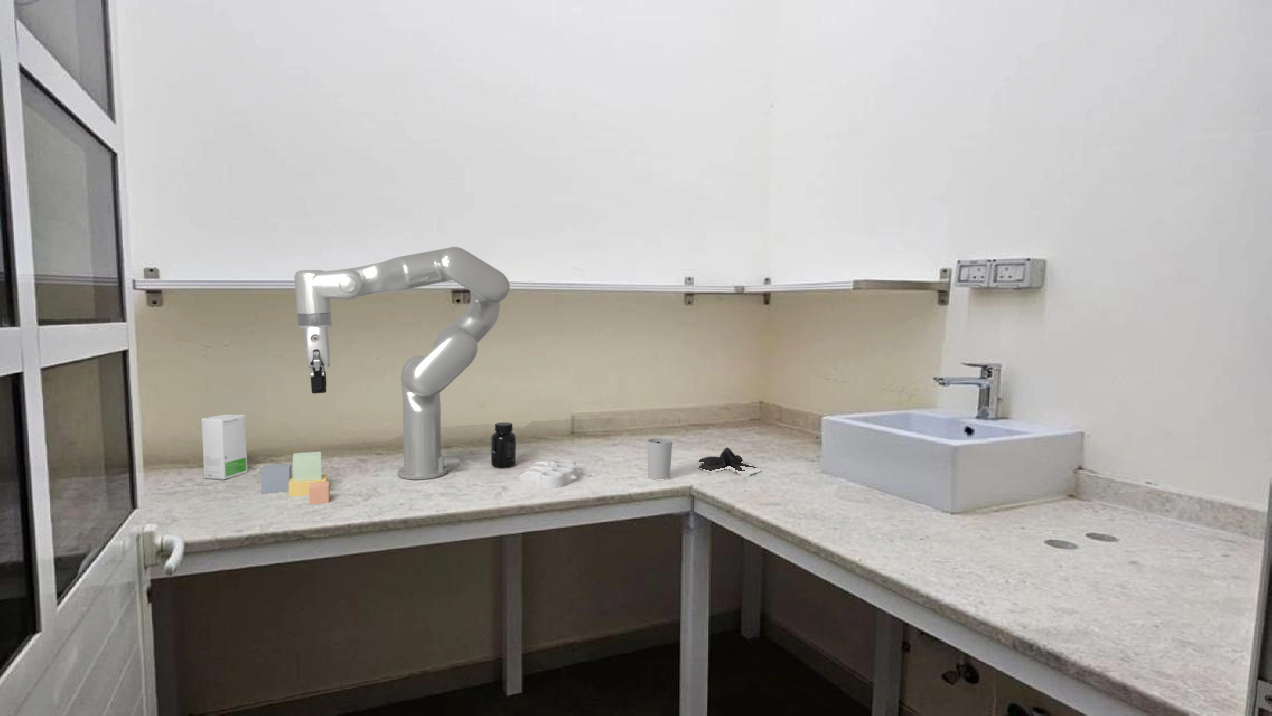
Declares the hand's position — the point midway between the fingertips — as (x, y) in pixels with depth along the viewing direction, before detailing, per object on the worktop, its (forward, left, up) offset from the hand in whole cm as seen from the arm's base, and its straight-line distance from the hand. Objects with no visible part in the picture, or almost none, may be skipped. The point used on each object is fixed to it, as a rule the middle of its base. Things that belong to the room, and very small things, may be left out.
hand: (319, 390), depth 167 cm
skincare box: (+24, -16, -24) cm, 38 cm away
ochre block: (+3, +6, -24) cm, 25 cm away
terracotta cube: (0, +15, -24) cm, 28 cm away
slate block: (+10, +3, -24) cm, 26 cm away
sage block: (+3, +6, -21) cm, 22 cm away
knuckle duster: (-56, +13, -24) cm, 63 cm away
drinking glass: (-83, +20, -24) cm, 89 cm away
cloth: (-107, +15, -25) cm, 111 cm away
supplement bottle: (-46, -4, -24) cm, 52 cm away
